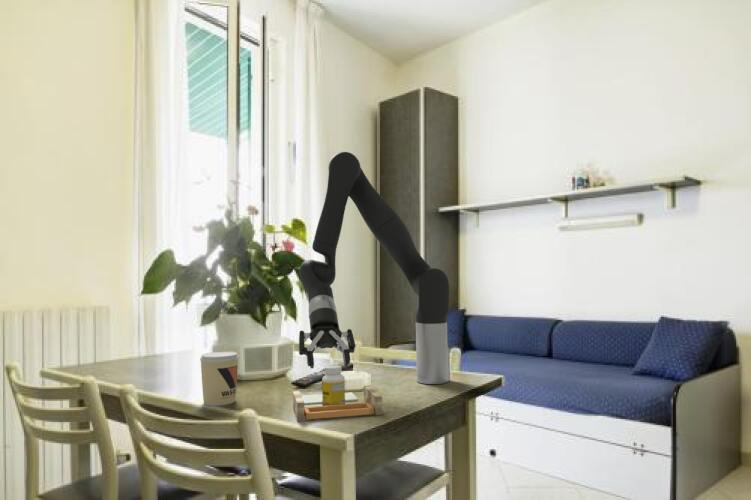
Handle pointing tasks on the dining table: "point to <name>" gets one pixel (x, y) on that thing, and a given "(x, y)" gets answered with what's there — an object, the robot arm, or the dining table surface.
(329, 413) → the orange rectangular tray
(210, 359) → the coffee cup
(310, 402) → the mat
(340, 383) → the supplement bottle
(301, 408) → the tunnel walls
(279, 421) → the dining table surface
